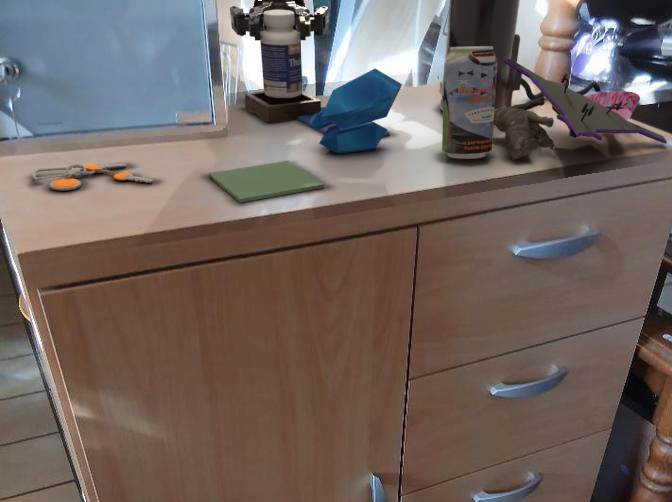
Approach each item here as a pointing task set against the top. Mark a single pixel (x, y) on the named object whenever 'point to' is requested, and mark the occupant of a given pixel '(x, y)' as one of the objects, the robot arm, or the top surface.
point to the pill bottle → (281, 55)
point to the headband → (617, 101)
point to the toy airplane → (583, 110)
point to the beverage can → (469, 101)
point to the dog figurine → (523, 128)
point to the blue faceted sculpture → (357, 113)
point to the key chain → (74, 183)
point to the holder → (281, 106)
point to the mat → (265, 181)
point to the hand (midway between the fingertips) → (280, 31)
